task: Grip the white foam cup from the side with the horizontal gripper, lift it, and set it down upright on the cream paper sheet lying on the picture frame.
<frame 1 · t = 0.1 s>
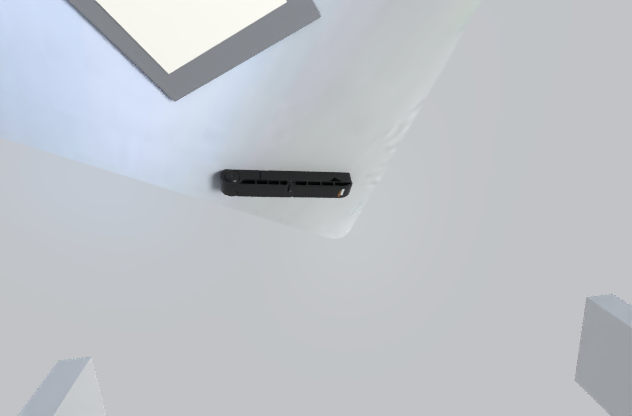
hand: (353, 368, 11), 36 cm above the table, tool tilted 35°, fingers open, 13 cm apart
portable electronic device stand: (286, 174, 58), on the table
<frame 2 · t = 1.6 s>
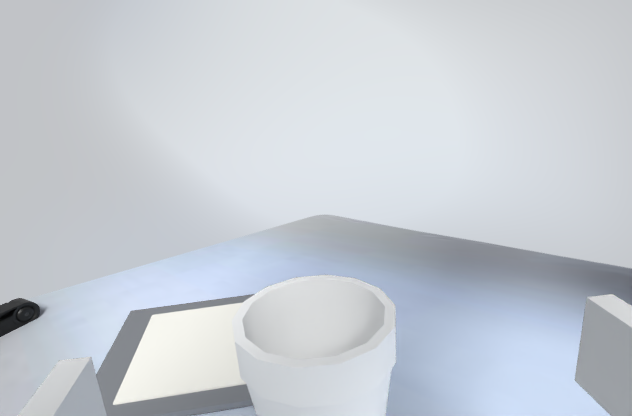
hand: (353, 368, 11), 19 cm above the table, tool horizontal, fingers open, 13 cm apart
picture frame: (226, 345, 43), on the table
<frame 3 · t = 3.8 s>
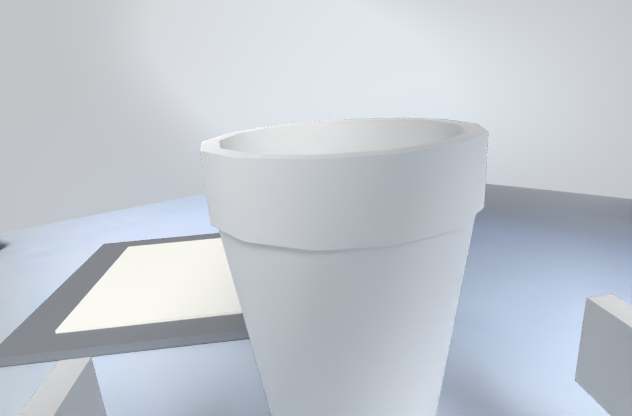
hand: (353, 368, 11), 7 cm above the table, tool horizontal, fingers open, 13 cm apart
picture frame: (216, 277, 34), on the table
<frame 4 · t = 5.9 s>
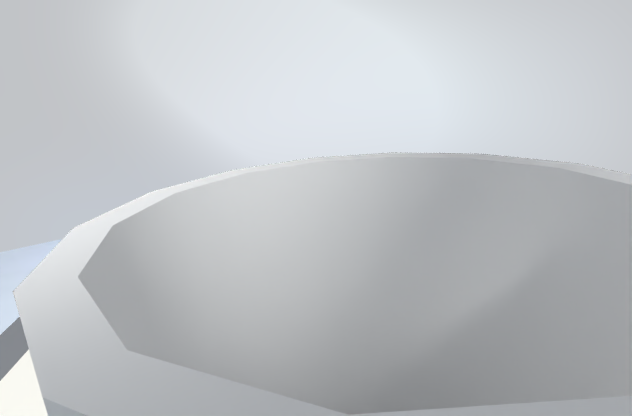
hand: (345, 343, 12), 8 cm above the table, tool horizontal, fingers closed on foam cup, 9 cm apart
picture frame: (186, 341, 26), on the table
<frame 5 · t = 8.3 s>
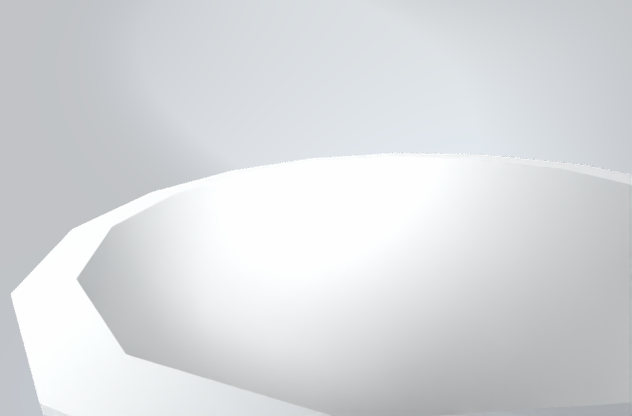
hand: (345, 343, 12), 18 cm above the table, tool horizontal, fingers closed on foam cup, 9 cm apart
when the fingers open (9 cm above the table, at t = 10.7 s): foam cup drops 1 cm, resting on picture frame.
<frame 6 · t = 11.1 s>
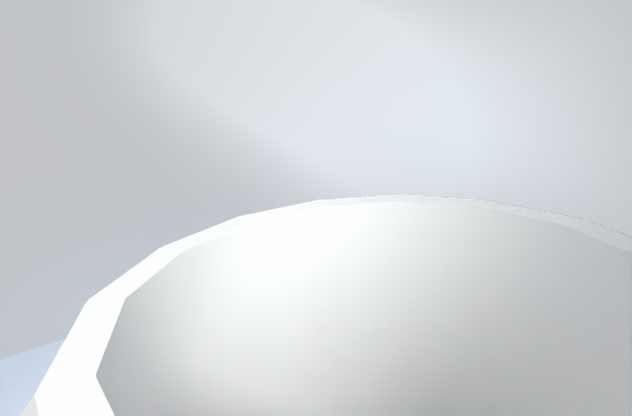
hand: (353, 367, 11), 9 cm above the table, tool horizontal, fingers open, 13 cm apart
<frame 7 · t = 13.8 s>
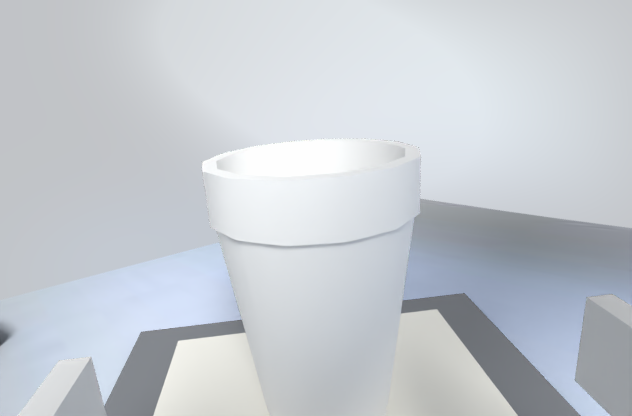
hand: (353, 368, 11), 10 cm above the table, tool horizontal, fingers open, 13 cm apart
picture frame: (326, 409, 22), on the table
foam cup: (327, 400, 22), point 1 cm above the table, touching picture frame
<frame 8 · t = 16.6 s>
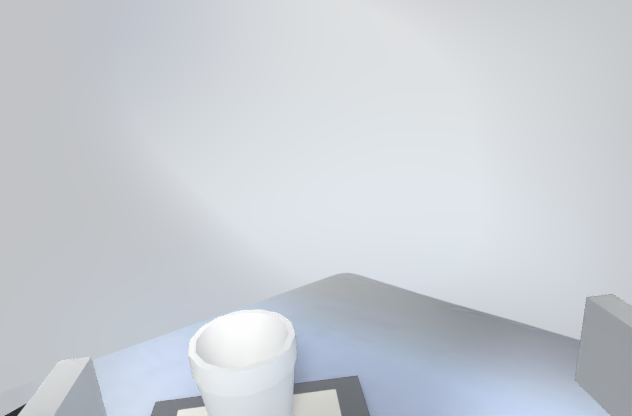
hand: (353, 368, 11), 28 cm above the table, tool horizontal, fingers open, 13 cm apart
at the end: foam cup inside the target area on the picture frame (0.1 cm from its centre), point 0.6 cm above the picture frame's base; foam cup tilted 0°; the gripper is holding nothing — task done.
